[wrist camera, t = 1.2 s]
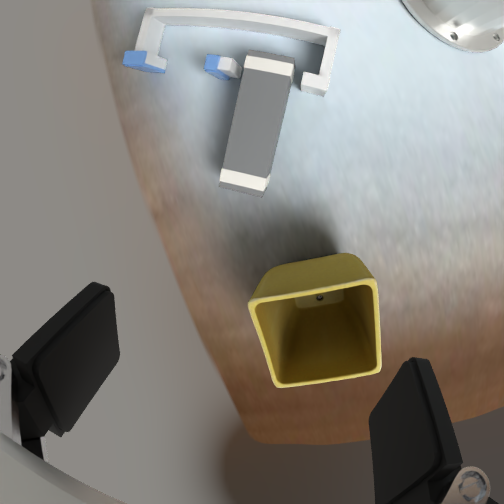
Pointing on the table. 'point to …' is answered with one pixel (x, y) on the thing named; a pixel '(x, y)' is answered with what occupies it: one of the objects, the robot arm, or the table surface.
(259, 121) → the white-capped gray brick
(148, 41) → the white arch handle
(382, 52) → the table surface
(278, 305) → the flower pot
